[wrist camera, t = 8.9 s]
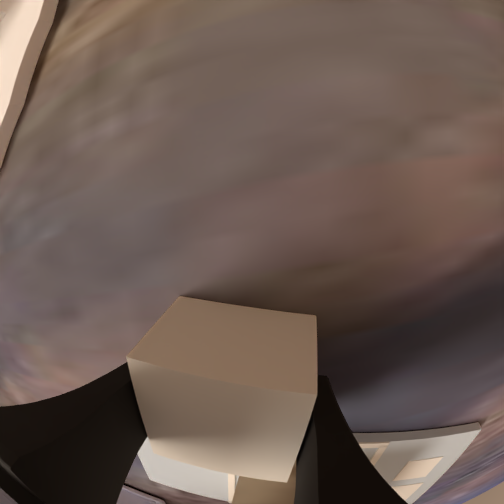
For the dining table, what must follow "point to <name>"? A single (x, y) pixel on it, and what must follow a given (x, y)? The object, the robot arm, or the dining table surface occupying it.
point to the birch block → (265, 490)
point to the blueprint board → (373, 444)
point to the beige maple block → (227, 386)
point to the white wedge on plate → (19, 56)
